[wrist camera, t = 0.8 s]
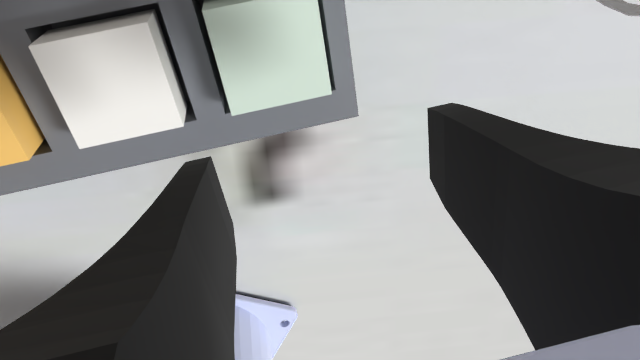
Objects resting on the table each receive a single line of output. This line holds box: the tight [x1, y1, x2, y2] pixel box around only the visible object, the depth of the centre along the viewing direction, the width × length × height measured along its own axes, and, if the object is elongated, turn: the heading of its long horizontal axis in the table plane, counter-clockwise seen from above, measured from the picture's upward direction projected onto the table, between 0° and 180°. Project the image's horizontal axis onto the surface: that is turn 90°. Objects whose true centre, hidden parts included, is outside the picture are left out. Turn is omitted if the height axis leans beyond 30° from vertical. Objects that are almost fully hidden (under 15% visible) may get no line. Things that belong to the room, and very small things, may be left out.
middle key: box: [28, 9, 187, 149], centre depth 15 cm, size 3×3×2 cm
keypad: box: [0, 0, 359, 196], centre depth 16 cm, size 15×6×3 cm, turn 99°
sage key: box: [202, 0, 332, 116], centre depth 16 cm, size 3×3×2 cm
